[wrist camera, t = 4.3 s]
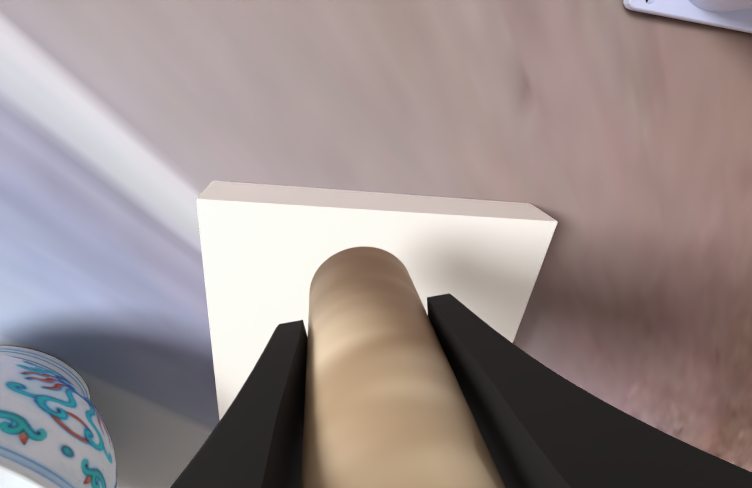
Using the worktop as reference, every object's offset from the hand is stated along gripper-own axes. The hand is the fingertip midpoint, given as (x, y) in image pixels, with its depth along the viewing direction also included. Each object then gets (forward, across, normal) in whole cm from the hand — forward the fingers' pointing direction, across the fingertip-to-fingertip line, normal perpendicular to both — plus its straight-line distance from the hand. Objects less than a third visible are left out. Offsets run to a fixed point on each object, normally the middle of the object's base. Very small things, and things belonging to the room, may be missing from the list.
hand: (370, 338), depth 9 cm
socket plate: (+10, 0, +6) cm, 11 cm away
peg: (+2, 0, 0) cm, 2 cm away
